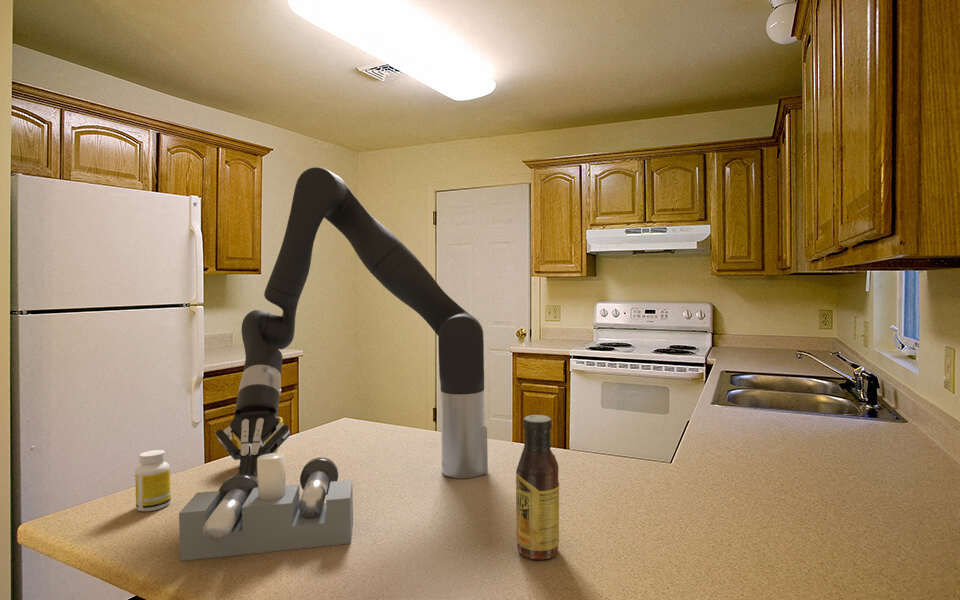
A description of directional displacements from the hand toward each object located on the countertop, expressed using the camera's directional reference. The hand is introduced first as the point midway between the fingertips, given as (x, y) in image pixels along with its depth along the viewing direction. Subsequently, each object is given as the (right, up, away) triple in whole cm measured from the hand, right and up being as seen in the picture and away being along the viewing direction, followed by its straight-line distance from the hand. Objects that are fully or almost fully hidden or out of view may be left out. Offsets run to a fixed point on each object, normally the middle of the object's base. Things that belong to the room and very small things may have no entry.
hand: (247, 478), depth 92 cm
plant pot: (-10, -7, +29) cm, 32 cm away
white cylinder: (+7, 0, -8) cm, 11 cm away
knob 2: (+12, -4, -2) cm, 13 cm away
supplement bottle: (-20, -7, +6) cm, 22 cm away
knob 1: (+2, -5, -10) cm, 11 cm away
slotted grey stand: (+8, -7, -8) cm, 13 cm away
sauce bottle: (+48, -6, -14) cm, 51 cm away
